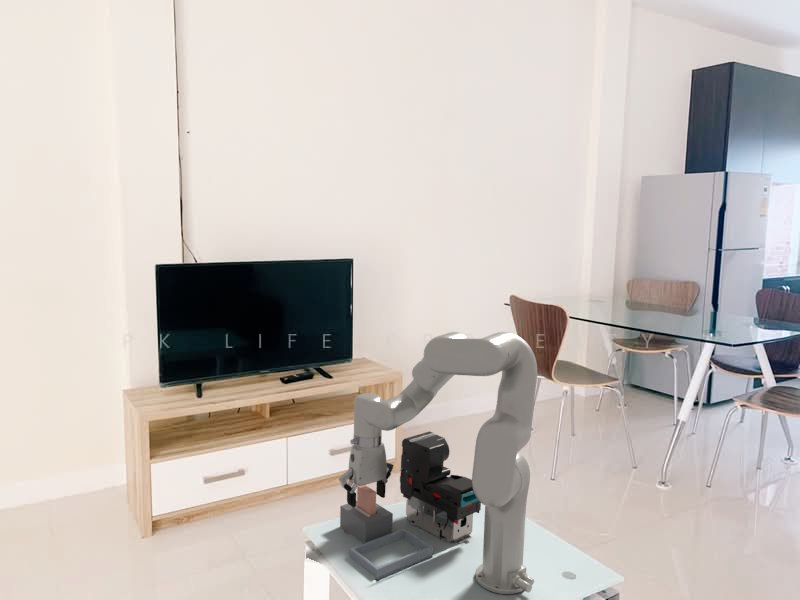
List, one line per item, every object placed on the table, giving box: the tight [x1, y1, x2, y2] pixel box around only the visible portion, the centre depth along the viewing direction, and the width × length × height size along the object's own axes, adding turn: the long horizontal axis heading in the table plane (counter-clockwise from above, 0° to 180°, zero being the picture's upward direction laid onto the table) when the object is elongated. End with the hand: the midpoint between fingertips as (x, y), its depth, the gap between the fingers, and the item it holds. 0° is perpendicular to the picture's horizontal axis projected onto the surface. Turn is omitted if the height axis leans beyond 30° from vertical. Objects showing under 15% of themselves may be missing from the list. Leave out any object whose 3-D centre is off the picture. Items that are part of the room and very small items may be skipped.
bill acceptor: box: [399, 431, 482, 544], centre depth 167 cm, size 10×23×25 cm, turn 44°
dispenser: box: [339, 500, 394, 544], centre depth 165 cm, size 12×9×7 cm
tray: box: [349, 528, 434, 582], centre depth 153 cm, size 12×18×3 cm, turn 129°
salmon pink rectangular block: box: [356, 485, 377, 516], centre depth 164 cm, size 6×2×12 cm, turn 39°
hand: (366, 500), depth 164 cm, fingers open, 9 cm apart
